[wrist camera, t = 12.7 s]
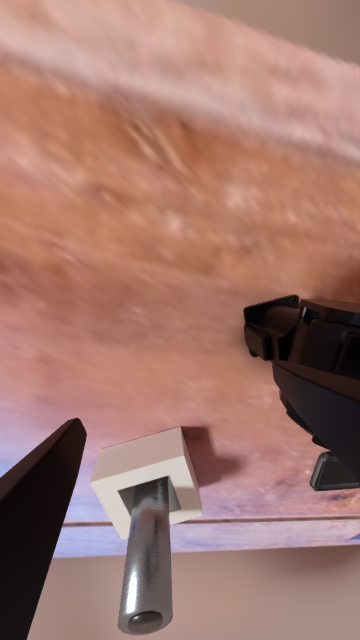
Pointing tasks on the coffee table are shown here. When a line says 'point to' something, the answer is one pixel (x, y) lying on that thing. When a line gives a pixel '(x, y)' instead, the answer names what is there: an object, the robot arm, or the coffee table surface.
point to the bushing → (148, 562)
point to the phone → (331, 474)
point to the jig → (146, 477)
